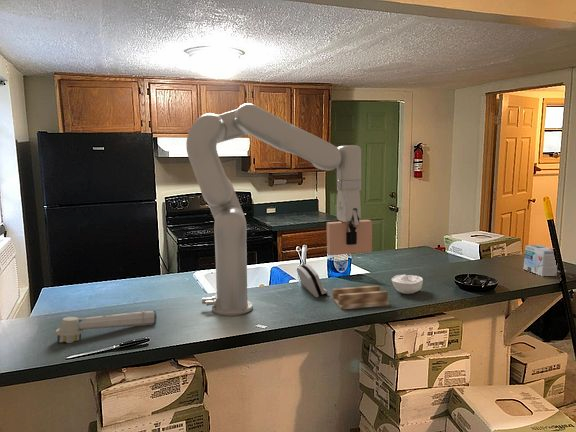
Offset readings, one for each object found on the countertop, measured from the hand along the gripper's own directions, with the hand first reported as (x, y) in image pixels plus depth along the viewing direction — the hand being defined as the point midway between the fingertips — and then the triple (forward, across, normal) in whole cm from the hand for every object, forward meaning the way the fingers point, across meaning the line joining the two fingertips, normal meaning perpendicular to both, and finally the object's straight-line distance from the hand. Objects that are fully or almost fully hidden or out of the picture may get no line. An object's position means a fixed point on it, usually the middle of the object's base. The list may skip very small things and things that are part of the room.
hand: (349, 242), depth 138 cm
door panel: (+3, 0, 0) cm, 3 cm away
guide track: (+20, 0, +3) cm, 20 cm away
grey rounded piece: (+20, -17, -9) cm, 27 cm away
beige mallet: (+19, +7, -72) cm, 75 cm away
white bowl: (+21, -6, +23) cm, 32 cm away
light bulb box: (+22, -16, +86) cm, 91 cm away
